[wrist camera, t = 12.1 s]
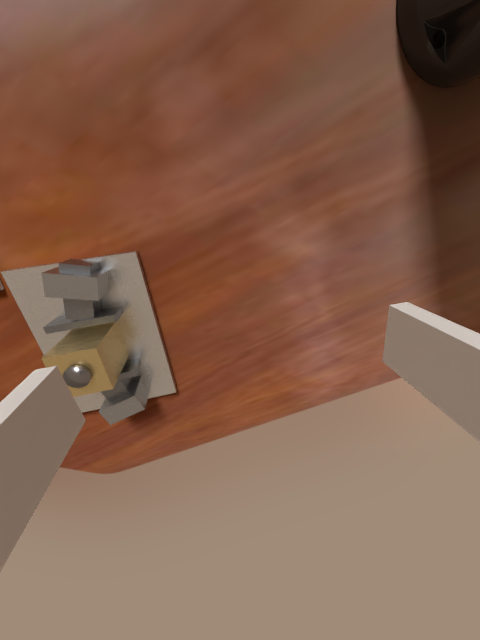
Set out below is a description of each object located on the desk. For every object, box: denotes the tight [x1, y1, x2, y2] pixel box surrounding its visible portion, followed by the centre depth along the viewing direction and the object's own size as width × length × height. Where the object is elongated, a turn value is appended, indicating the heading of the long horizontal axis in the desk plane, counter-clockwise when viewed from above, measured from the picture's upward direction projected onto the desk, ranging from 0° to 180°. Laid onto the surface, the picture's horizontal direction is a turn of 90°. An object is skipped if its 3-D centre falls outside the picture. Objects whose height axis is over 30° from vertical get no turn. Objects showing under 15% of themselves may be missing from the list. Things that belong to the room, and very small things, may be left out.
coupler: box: [41, 322, 129, 397], centre depth 28 cm, size 5×5×8 cm
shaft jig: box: [1, 251, 177, 425], centre depth 30 cm, size 20×14×5 cm
